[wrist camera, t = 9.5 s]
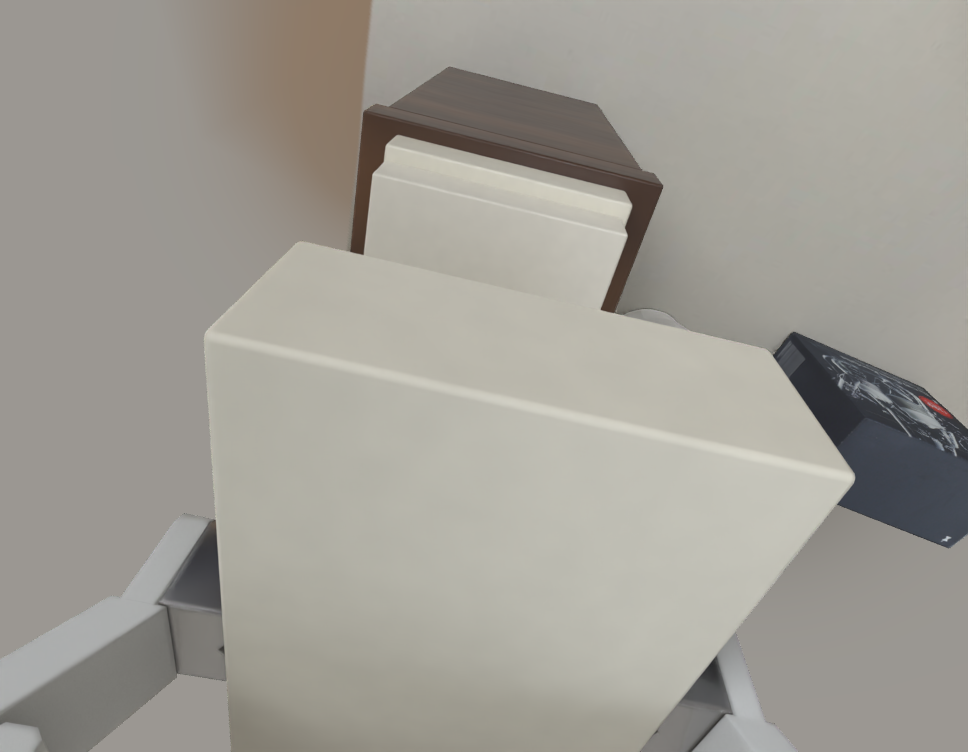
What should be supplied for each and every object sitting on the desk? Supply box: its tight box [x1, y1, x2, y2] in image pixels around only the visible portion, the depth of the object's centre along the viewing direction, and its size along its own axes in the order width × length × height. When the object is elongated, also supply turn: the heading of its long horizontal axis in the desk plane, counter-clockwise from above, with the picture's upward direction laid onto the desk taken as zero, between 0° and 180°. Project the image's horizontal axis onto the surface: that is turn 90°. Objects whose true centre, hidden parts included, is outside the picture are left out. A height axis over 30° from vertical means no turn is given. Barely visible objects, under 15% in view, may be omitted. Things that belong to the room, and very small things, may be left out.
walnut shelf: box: [350, 67, 663, 313], centre depth 32 cm, size 14×11×20 cm
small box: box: [773, 332, 968, 548], centre depth 42 cm, size 13×7×12 cm, turn 68°
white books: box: [364, 135, 632, 310], centre depth 22 cm, size 13×8×4 cm, turn 168°
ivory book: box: [204, 241, 855, 752], centre depth 9 cm, size 11×6×3 cm, turn 168°
